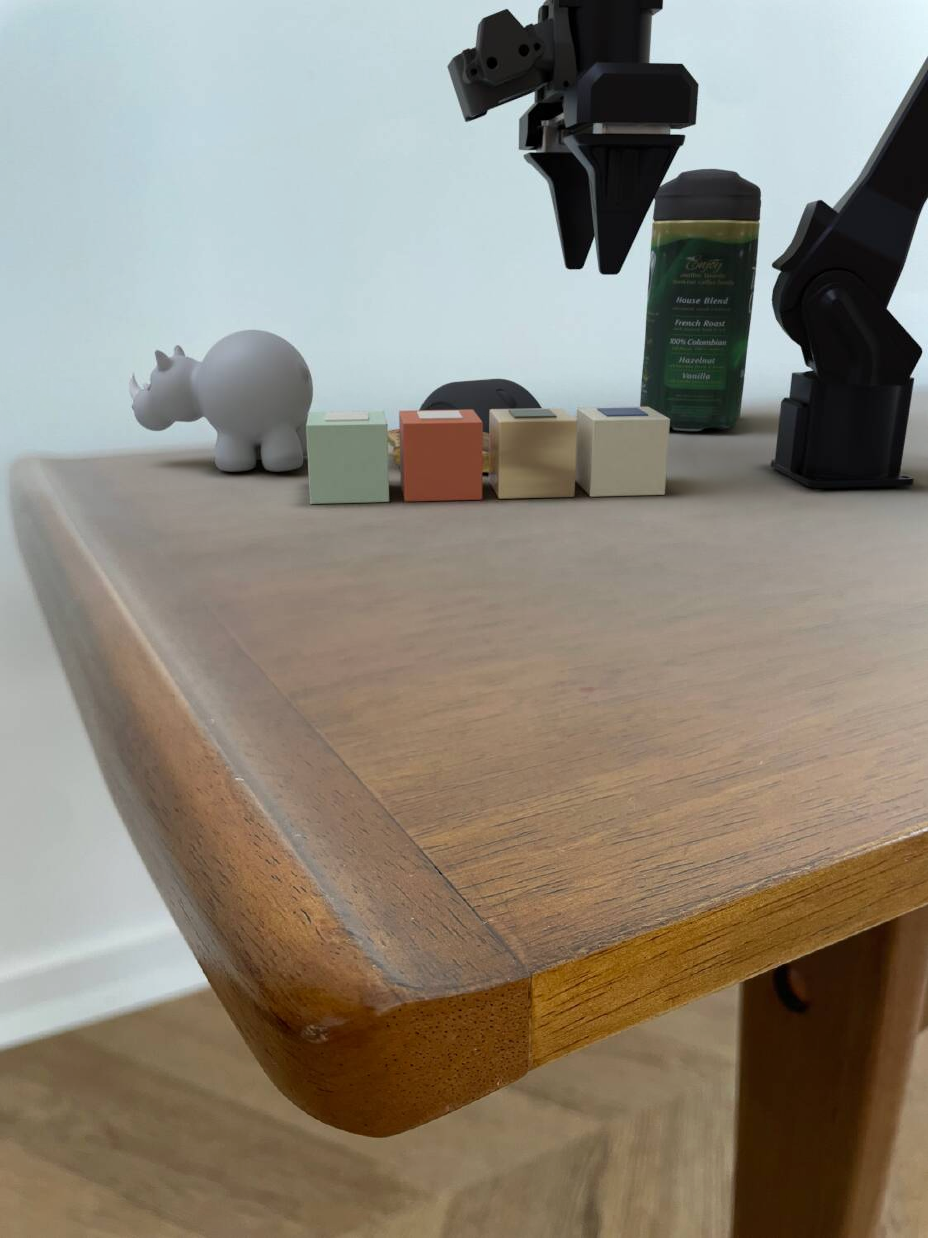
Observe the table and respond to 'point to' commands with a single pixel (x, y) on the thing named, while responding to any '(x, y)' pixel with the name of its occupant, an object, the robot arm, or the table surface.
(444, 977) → the table surface
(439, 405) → the computer mouse
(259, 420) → the toy rhinoceros
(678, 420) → the coffee jar
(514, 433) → the row block
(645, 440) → the row block
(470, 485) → the orange cube
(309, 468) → the row block
